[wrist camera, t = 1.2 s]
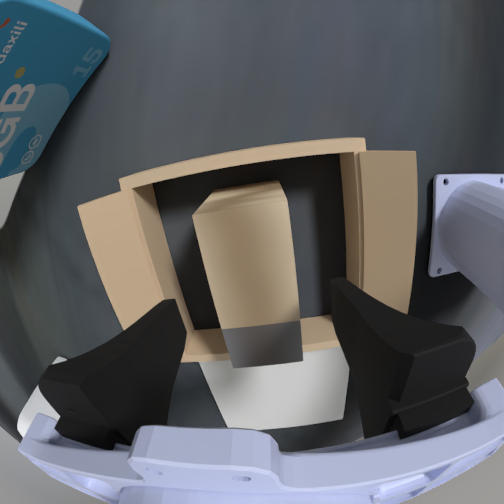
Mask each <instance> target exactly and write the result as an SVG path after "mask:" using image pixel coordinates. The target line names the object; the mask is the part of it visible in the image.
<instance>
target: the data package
mask: <svg viewBox="0 0 504 504" xmlns="http://www.w3.org/2000/svg"><path fill="white" fill-rule="evenodd" d="M109 48H110V39H109V37H108V36H107V35H106V34H104V33H103V32H102V31H100V30H99V29H98V28H96V27H95V26H94V25H92V24H91V23H90V22H88V21H87V20H86V19H84V18H83V17H81V16H80V15H78V14H76V13H74V12H72V11H70V10H68V9H66V8H64V7H62V6H59V5H57V4H55V3H53V2H51V1H48V0H0V179H1V178H4V177H7V176H11V175H14V174H17V173H20V172H23V171H25V170H27V169H29V168H30V167H31V166H32V165H33V164H34V163H35V162H36V161H37V160H38V158H39V157H40V155H41V153H42V151H43V150H44V148H45V146H46V144H47V142H48V140H49V138H50V137H51V135H52V133H53V131H54V130H55V128H56V126H57V124H58V123H59V121H60V119H61V118H62V116H63V115H64V113H65V111H66V110H67V108H68V107H69V105H70V104H71V102H72V101H73V99H74V98H75V96H76V95H77V93H78V92H79V91H80V89H81V88H82V86H83V85H84V84H85V82H86V81H87V80H88V78H89V77H90V76H91V74H92V73H93V72H94V71H95V69H96V68H97V67H98V66H99V64H100V63H101V62H102V61H103V59H104V58H105V57H106V55H107V53H108V51H109Z"/></svg>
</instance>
